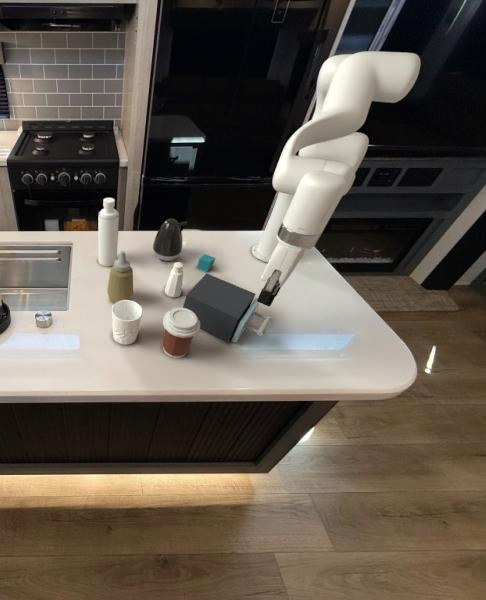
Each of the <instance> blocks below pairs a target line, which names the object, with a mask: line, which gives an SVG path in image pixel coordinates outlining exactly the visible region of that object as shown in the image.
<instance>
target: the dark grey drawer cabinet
mask: <svg viewBox="0 0 486 600" xmlns="http://www.w3.org/2000/svg"><path fill="white" fill-rule="evenodd" d="M256 295H257V294H256V293H255V292H252V291H251V290H248V289H245V288H243V287H241V286H238V285H236V284H234V283H231V282H228V281H226V280H224V279H221V278H219V277H217V276H214V275H212V274H209V273H208V272H206V273H205V274H204V275H203V277H201V278H200V279H199V280H198V282H196V284H195V285H194V286H193V287H192V288H191V289H189V291H188V292H187V293H186V294H185V298H184V302H183V306H182V308H186V309H189V310H191V311H192V312H193V313H195V314H196V316H197V318H198V320H199V321H200V330H201V331H203V332H204V333H207V334H209V335H210V336H212V337H214V338H217V339H218V340H219V341H223V342H224V343H226V344H229V342H230V341H231V340H232V338H233V336H234V334H235V332H236V329H237V327H238V325H239V323H240V321H241V319H242V318H243V316H244V315H245V313H246V312H247V310H248V309H249V308H250V306H251V305H252V303H253V302H254V300H255V297H256ZM243 312H244V313H243ZM242 314H243V315H242ZM241 315H242V317H241ZM240 317H241V318H240ZM239 318H240V320H239ZM238 320H239V321H238ZM237 322H238V323H237Z"/></svg>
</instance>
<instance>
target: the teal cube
mask: <svg viewBox="0 0 486 600" xmlns="http://www.w3.org/2000/svg"><path fill="white" fill-rule="evenodd" d="M215 260H216V257H214V256H212V255H209V254H206V253H203V255H201V257H199V259H198V263H197V265H196V266H197V267H196V269H199V270H201V271H204V272H206V273H208V272H209V271H210V270H211V269H212V268H213V267H214V263H215Z"/></svg>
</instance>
